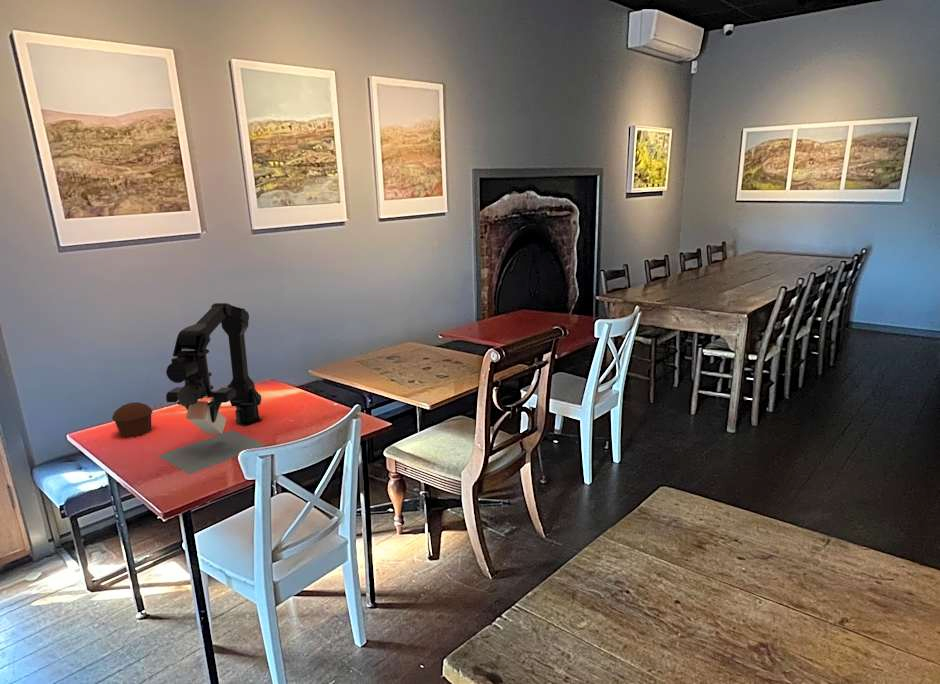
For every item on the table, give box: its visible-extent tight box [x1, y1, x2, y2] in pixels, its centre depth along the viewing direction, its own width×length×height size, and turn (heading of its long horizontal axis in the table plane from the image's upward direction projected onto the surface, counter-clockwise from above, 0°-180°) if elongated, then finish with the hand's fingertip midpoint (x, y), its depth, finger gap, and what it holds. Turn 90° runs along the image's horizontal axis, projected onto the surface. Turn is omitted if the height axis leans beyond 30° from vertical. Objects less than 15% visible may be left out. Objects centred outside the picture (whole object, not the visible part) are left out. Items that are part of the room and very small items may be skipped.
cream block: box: [185, 400, 227, 435], centre depth 174 cm, size 5×5×13 cm
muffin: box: [111, 401, 153, 438], centre depth 191 cm, size 12×11×10 cm
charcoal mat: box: [157, 429, 266, 475], centre depth 177 cm, size 24×20×1 cm
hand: (205, 421), depth 173 cm, fingers closed on cream block, 5 cm apart
